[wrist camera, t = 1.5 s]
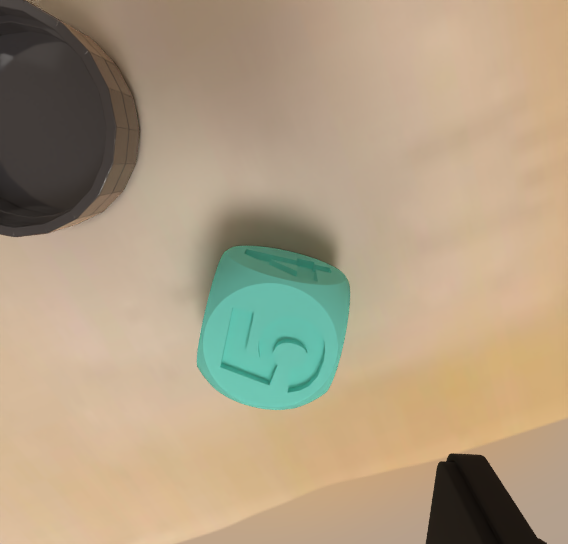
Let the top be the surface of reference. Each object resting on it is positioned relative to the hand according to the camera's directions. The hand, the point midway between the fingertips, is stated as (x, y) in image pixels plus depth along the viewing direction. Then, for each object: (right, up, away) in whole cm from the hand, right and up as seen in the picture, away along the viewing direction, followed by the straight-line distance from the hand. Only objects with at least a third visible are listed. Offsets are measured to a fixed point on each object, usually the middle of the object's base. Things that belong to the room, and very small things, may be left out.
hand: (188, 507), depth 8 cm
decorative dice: (+1, +2, +24) cm, 25 cm away
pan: (-14, +14, +21) cm, 29 cm away
